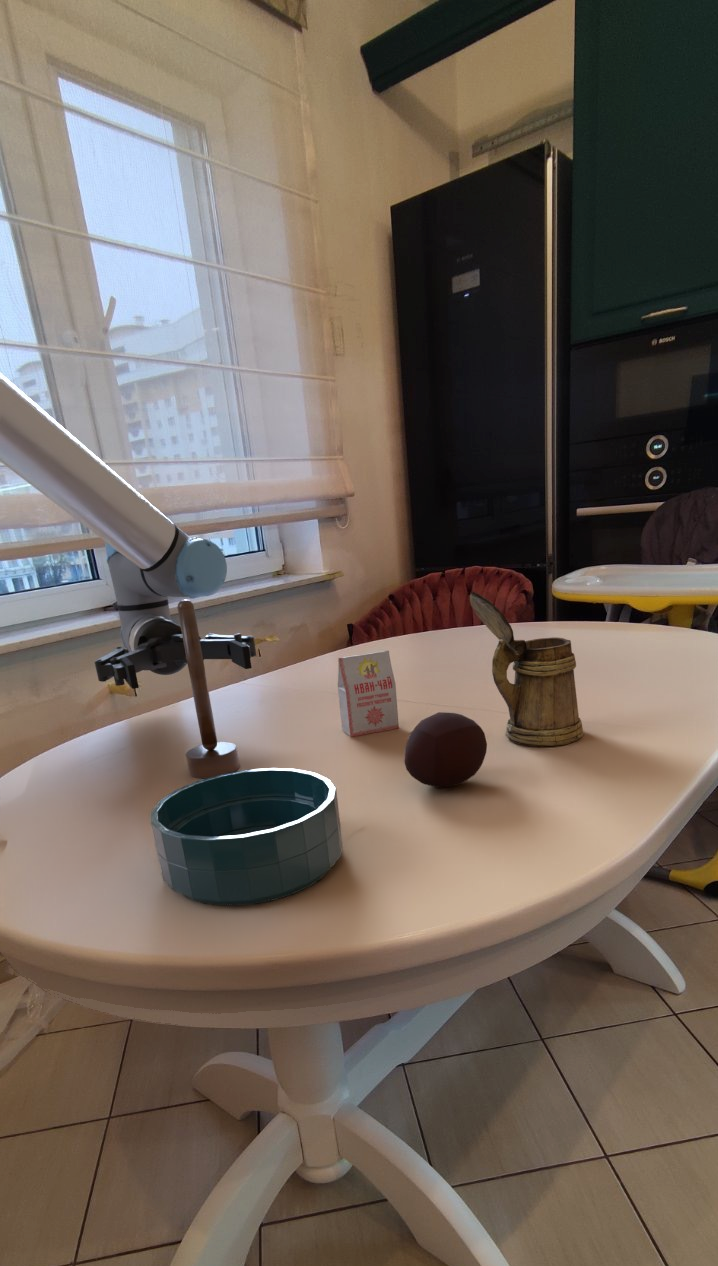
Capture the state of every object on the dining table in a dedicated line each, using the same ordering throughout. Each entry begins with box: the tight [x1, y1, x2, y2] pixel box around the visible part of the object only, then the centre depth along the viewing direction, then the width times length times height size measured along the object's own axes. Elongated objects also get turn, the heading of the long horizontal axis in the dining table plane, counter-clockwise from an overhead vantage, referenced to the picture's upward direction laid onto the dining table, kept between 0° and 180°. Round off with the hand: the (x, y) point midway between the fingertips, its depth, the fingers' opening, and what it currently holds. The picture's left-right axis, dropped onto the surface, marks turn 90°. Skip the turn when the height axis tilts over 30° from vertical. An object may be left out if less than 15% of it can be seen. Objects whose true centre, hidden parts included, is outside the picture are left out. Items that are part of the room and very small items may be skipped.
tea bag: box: [337, 650, 400, 738], centre depth 95 cm, size 4×7×10 cm, turn 108°
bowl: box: [149, 767, 343, 906], centre depth 61 cm, size 15×15×6 cm
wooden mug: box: [469, 590, 584, 748], centre depth 83 cm, size 9×14×18 cm, turn 106°
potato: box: [403, 711, 488, 789], centre depth 74 cm, size 8×9×8 cm
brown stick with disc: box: [176, 599, 240, 779], centre depth 83 cm, size 6×6×20 cm
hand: (191, 667), depth 85 cm, fingers open, 13 cm apart
